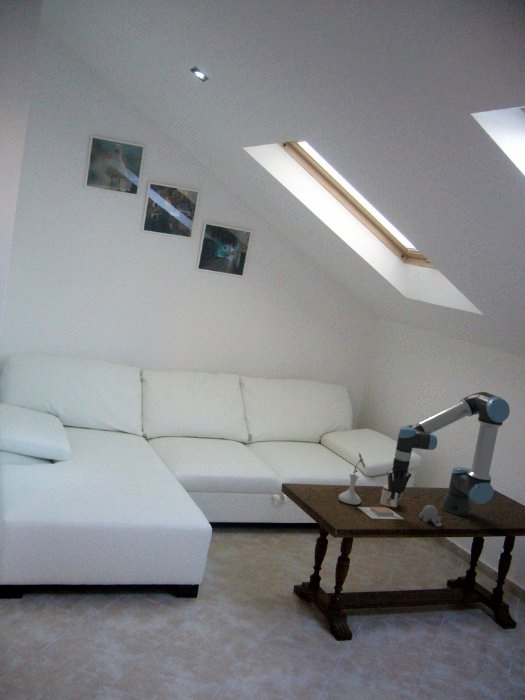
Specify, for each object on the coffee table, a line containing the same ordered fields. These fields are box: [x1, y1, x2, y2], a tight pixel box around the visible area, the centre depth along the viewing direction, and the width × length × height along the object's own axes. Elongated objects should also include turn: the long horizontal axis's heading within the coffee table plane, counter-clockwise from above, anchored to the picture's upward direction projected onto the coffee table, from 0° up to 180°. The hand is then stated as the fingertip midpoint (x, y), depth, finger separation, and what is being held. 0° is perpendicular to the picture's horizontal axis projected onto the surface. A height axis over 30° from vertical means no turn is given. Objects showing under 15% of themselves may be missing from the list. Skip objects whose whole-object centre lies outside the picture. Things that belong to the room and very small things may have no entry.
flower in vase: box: [337, 452, 366, 505], centre depth 343 cm, size 13×11×25 cm
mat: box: [357, 506, 404, 520], centre depth 334 cm, size 18×14×1 cm
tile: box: [370, 506, 394, 516], centre depth 334 cm, size 2×7×9 cm
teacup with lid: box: [379, 484, 403, 508], centre depth 350 cm, size 12×9×12 cm
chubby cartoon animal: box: [418, 504, 443, 528], centre depth 332 cm, size 7×12×8 cm, turn 32°
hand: (393, 505), depth 335 cm, fingers closed
